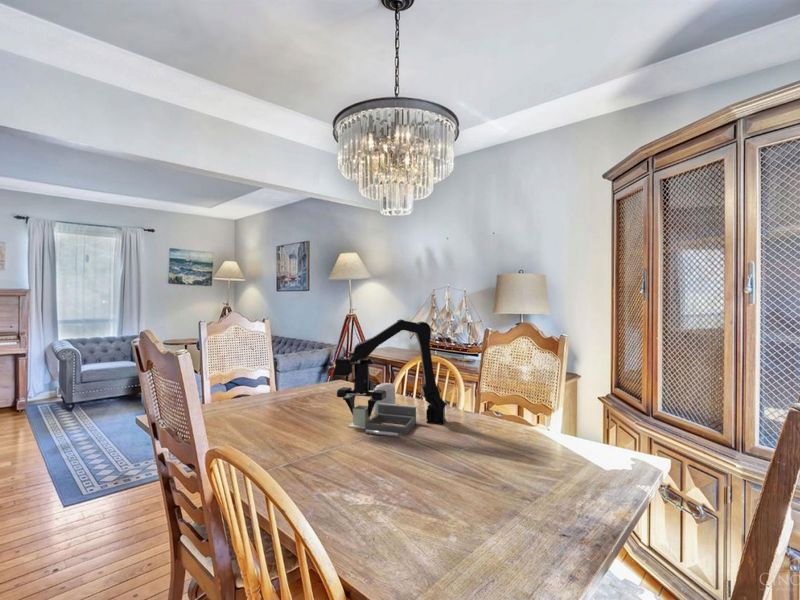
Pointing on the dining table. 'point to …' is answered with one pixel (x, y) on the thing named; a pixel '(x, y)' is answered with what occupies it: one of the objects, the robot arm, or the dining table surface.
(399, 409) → the case lid open
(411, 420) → the case base
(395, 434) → the rod
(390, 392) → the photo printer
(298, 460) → the dining table surface
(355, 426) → the pad
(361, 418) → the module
